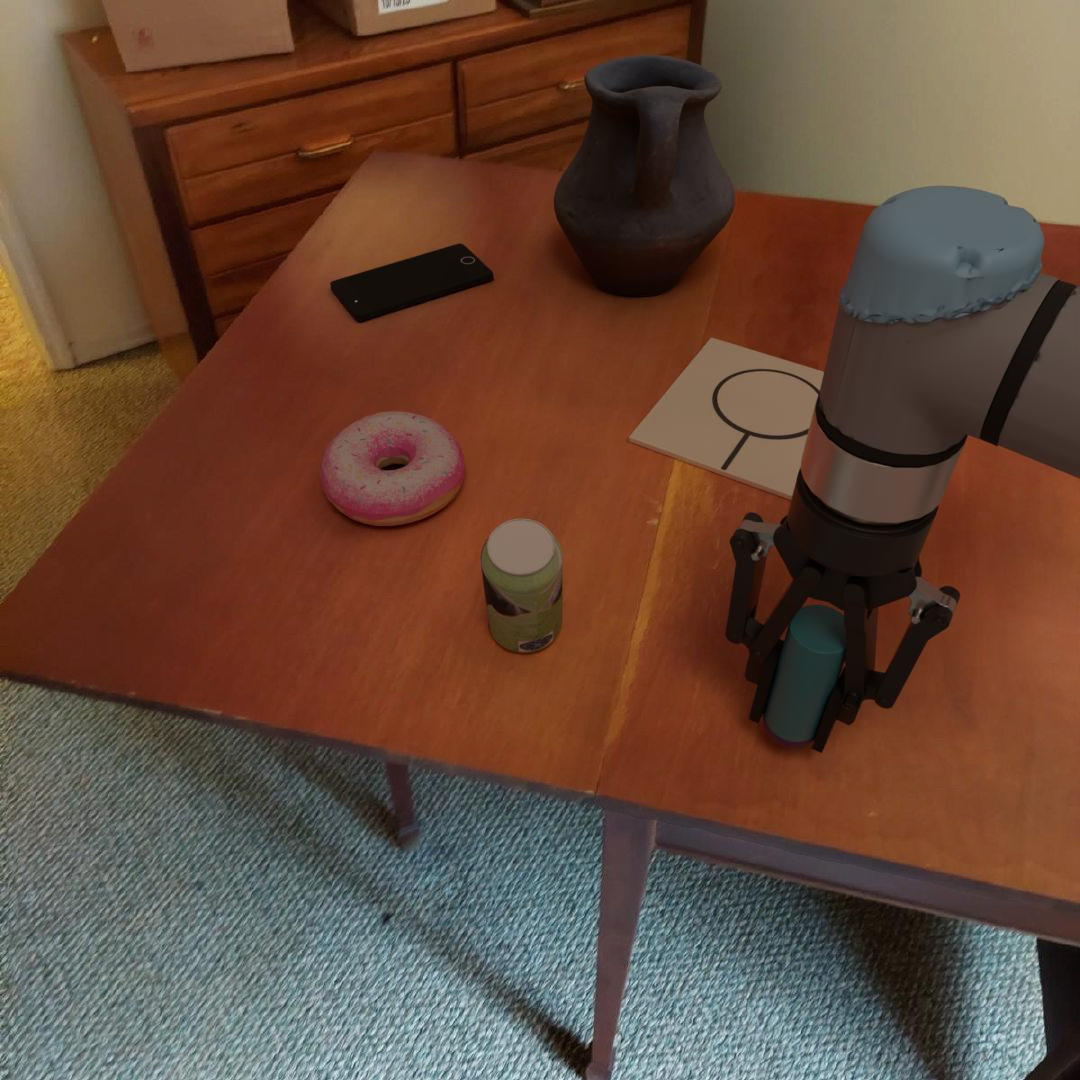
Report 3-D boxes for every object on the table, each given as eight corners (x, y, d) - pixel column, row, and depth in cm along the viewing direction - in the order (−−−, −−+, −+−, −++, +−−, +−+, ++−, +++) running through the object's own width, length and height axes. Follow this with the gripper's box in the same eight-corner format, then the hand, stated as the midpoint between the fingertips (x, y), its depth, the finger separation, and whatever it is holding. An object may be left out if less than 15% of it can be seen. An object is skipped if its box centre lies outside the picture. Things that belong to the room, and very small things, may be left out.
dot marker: (826, 716, 69) (862, 619, 61) (807, 757, 67) (842, 663, 59) (774, 692, 70) (802, 595, 63) (753, 732, 68) (780, 636, 60)
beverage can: (555, 596, 81) (554, 493, 72) (571, 665, 76) (573, 563, 67) (481, 606, 80) (471, 503, 71) (493, 677, 75) (484, 575, 66)
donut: (387, 560, 84) (380, 520, 80) (295, 491, 90) (284, 450, 87) (495, 483, 91) (492, 443, 87) (402, 424, 97) (396, 384, 94)
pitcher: (708, 231, 124) (734, 23, 106) (739, 325, 109) (775, 101, 91) (550, 236, 123) (549, 28, 106) (558, 331, 108) (559, 107, 90)
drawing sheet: (888, 396, 99) (889, 390, 99) (822, 512, 87) (824, 506, 87) (710, 341, 107) (711, 335, 106) (628, 441, 95) (628, 435, 94)
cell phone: (495, 280, 116) (495, 273, 115) (357, 323, 110) (356, 316, 109) (462, 248, 121) (461, 242, 121) (329, 288, 115) (328, 281, 114)
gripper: (1049, 495, 51) (925, 735, 68) (748, 395, 57) (703, 638, 74) (1018, 587, 46) (894, 820, 63) (695, 468, 52) (660, 709, 69)
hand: (791, 721), depth 68 cm, fingers closed on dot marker, 4 cm apart
